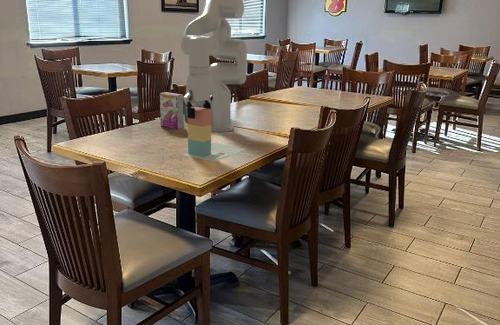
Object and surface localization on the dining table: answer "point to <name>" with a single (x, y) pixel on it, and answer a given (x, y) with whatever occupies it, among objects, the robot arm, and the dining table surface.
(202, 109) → the brick
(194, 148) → the tower base
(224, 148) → the mat
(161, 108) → the candy bar box
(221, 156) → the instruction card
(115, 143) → the dining table surface
